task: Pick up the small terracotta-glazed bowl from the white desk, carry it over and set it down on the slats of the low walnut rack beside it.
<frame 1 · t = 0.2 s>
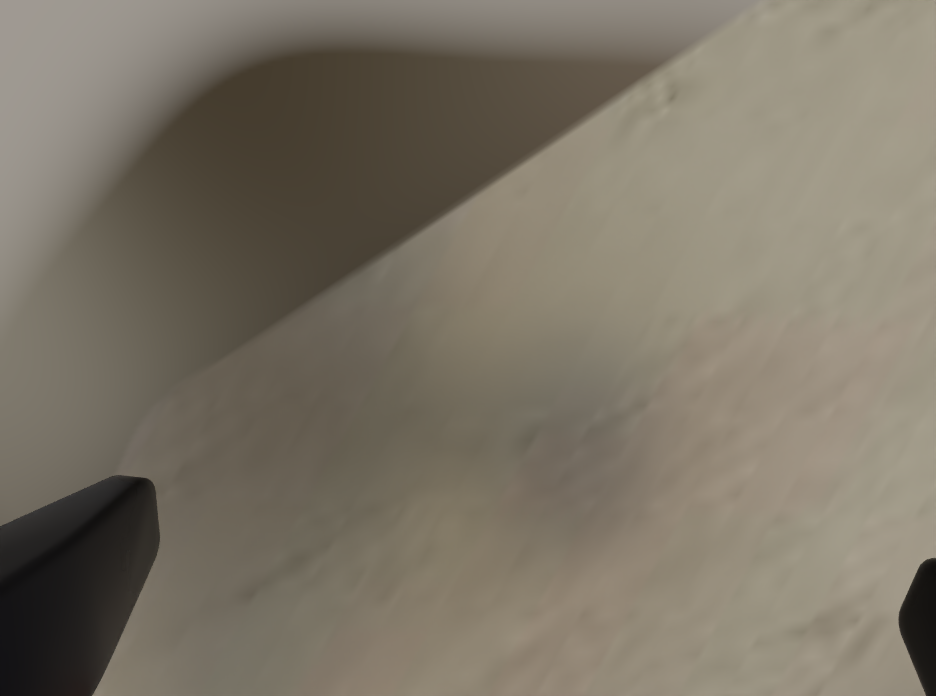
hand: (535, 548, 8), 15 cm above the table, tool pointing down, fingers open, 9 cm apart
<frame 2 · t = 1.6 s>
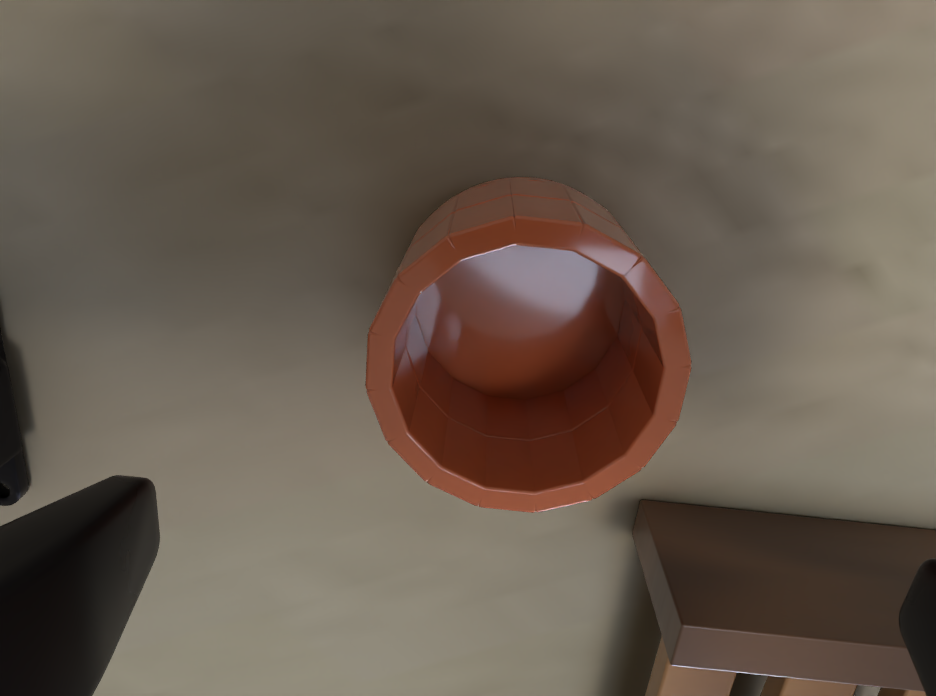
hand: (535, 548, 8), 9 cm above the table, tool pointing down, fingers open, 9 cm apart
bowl: (518, 299, 16), on the table
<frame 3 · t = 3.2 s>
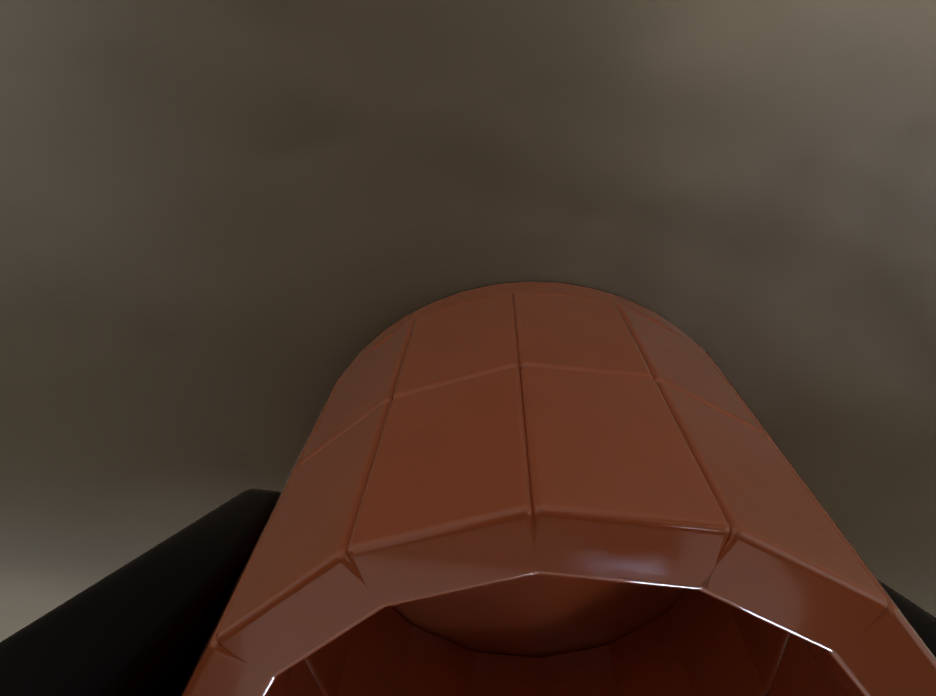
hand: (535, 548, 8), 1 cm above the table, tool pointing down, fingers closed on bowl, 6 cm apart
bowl: (527, 488, 9), on the table, touching gripper
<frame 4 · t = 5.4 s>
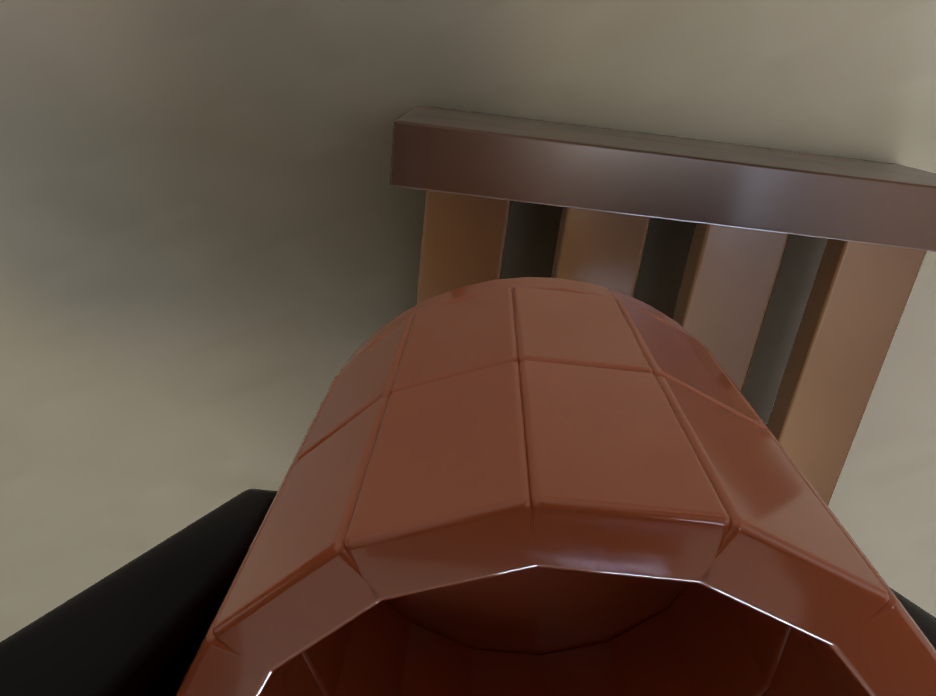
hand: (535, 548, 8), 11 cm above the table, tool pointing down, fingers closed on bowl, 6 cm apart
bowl: (527, 485, 9), point 10 cm above the table, touching gripper
rack: (591, 456, 20), on the table
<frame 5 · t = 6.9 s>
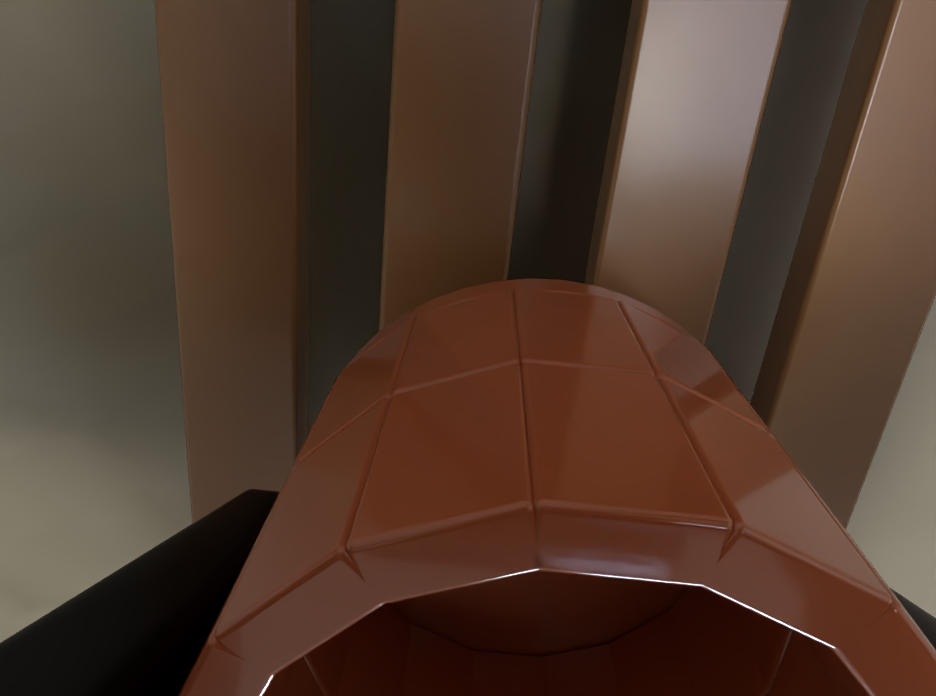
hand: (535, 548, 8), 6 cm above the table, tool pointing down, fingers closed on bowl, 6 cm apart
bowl: (528, 486, 9), point 5 cm above the table, touching gripper
rack: (520, 355, 13), on the table
when the fingers open (4 cm above the table, at t = 7.9 s): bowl stays where it is, resting on rack.
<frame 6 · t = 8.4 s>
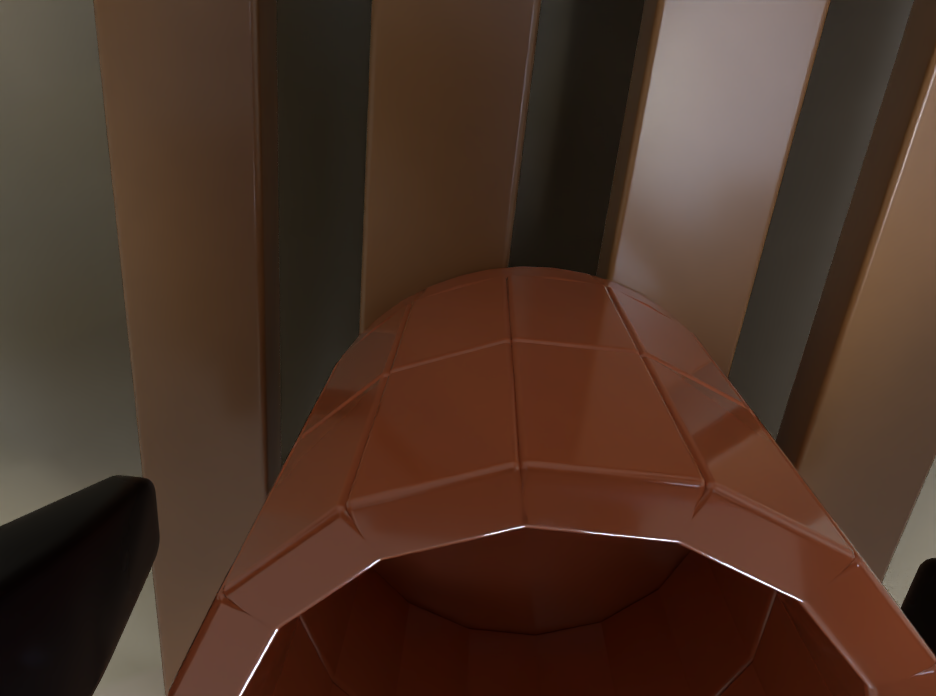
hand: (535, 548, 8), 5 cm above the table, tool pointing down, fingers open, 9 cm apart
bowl: (522, 469, 9), point 3 cm above the table, touching rack
rack: (518, 380, 12), on the table
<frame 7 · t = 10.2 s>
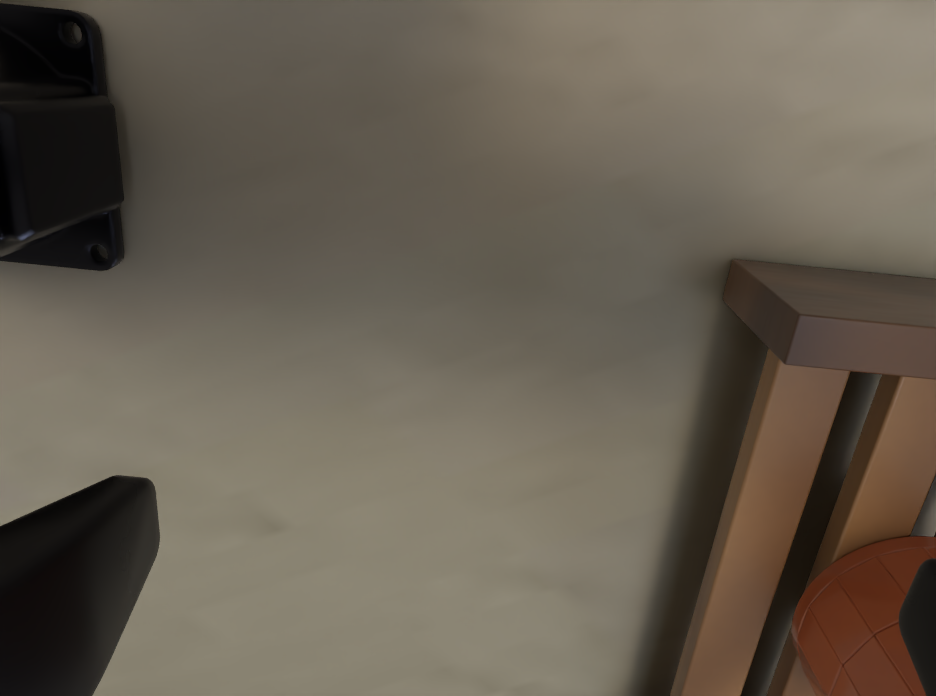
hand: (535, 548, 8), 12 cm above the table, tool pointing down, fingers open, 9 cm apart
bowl: (896, 618, 19), point 3 cm above the table, touching rack
rack: (847, 551, 22), on the table
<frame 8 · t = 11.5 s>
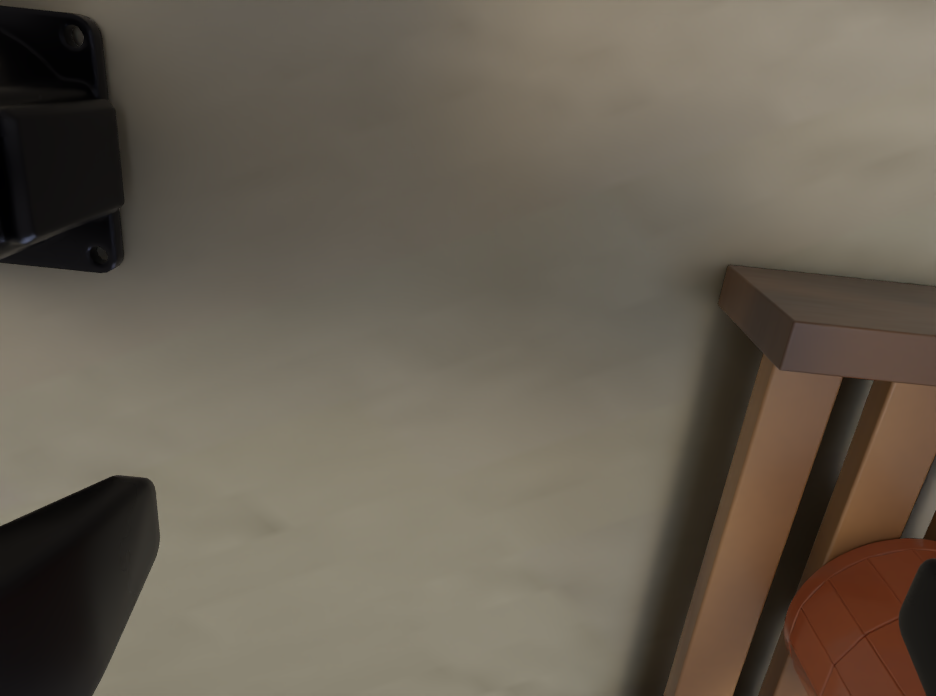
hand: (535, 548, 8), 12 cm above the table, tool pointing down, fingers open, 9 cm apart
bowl: (886, 618, 20), point 3 cm above the table, touching rack
rack: (838, 552, 22), on the table
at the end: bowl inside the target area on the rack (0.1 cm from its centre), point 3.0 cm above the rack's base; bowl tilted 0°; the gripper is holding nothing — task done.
